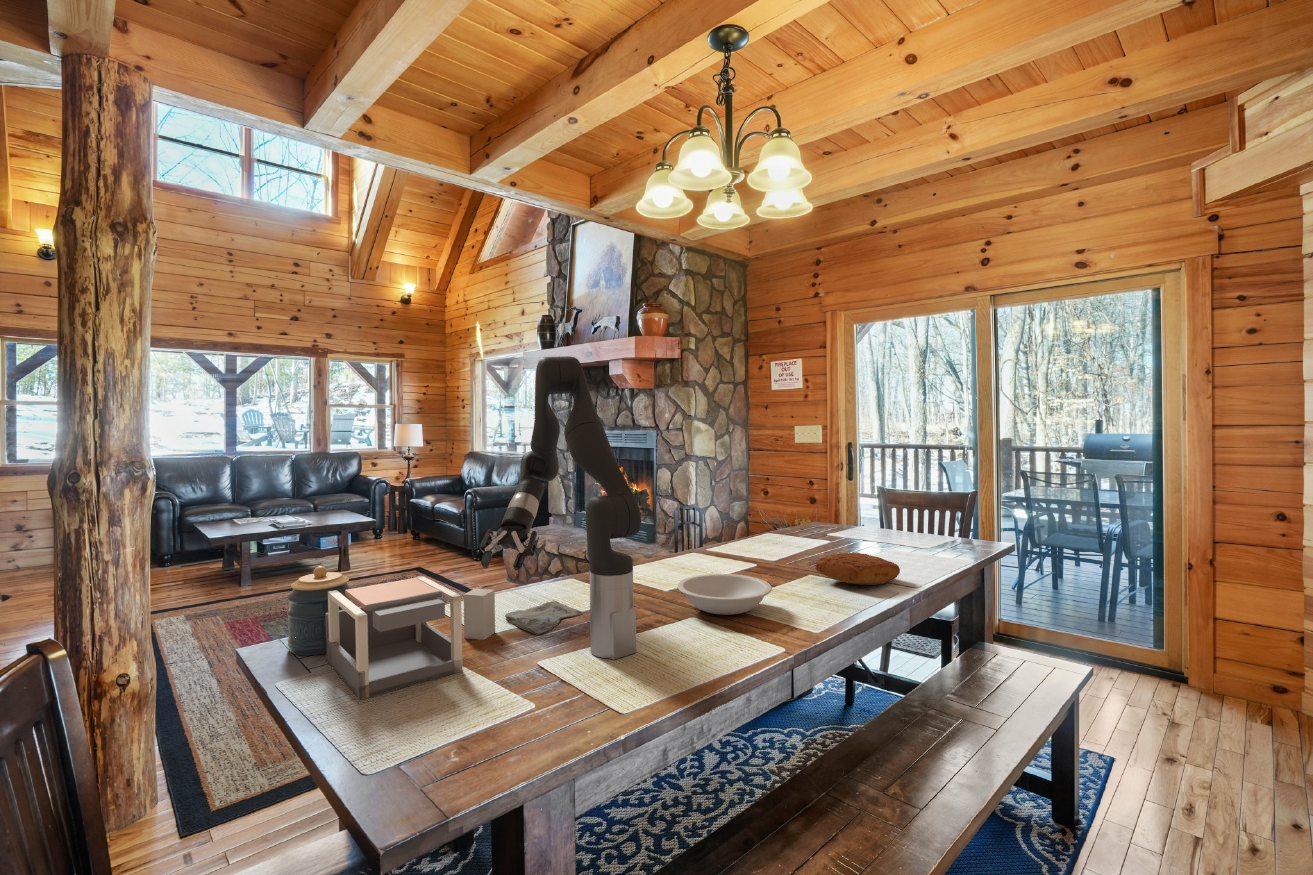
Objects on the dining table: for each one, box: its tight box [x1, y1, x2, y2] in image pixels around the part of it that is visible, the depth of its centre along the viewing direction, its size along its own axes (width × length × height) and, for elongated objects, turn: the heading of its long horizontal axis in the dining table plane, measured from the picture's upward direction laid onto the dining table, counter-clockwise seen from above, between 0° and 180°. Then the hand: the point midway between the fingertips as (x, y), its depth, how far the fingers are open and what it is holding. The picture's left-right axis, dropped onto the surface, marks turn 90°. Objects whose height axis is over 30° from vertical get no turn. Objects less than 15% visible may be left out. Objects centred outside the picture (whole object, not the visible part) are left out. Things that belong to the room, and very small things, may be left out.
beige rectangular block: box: [463, 588, 496, 641], centre depth 143 cm, size 5×5×10 cm
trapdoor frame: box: [325, 575, 463, 701], centre depth 126 cm, size 24×19×15 cm
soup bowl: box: [677, 573, 773, 616], centre depth 160 cm, size 24×24×7 cm
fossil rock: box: [504, 600, 584, 636], centre depth 155 cm, size 18×15×2 cm
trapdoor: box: [345, 577, 446, 632], centre depth 123 cm, size 18×14×4 cm
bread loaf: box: [814, 552, 901, 586], centre depth 186 cm, size 22×17×8 cm
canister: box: [286, 565, 355, 657], centre depth 137 cm, size 13×13×18 cm
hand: (499, 567), depth 153 cm, fingers open, 8 cm apart
